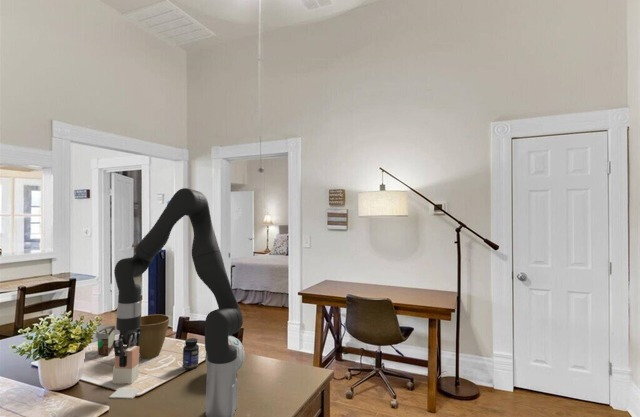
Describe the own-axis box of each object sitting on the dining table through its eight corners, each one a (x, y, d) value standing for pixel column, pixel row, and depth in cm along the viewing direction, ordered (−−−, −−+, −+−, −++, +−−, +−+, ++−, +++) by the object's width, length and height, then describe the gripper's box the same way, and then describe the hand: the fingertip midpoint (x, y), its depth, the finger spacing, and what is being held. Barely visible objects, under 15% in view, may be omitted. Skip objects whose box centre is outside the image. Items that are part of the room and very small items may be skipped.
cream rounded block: (138, 377, 132) (138, 361, 132) (131, 383, 127) (132, 367, 127) (120, 377, 132) (120, 361, 132) (112, 383, 127) (113, 366, 127)
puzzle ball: (196, 377, 134) (197, 338, 134) (225, 363, 147) (226, 327, 147) (224, 387, 126) (225, 346, 126) (252, 372, 139) (253, 334, 139)
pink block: (138, 363, 123) (139, 346, 123) (131, 368, 118) (132, 351, 118) (122, 362, 123) (122, 345, 123) (114, 368, 118) (115, 350, 118)
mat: (141, 389, 123) (141, 388, 123) (132, 398, 117) (132, 397, 117) (119, 389, 123) (119, 388, 123) (109, 398, 117) (109, 396, 117)
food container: (99, 347, 160) (100, 326, 160) (114, 346, 162) (115, 325, 162) (90, 358, 148) (91, 335, 148) (107, 357, 150) (108, 334, 150)
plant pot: (132, 351, 157) (134, 316, 157) (168, 347, 162) (169, 313, 163) (128, 364, 143) (130, 326, 143) (167, 359, 149) (169, 322, 149)
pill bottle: (192, 370, 139) (193, 343, 139) (179, 369, 140) (180, 341, 140) (201, 364, 145) (202, 338, 145) (188, 362, 146) (188, 336, 146)
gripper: (128, 321, 114) (126, 373, 113) (149, 309, 128) (148, 355, 128) (105, 320, 114) (103, 372, 113) (129, 308, 128) (128, 354, 128)
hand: (127, 363), depth 120 cm, fingers closed on pink block, 4 cm apart
